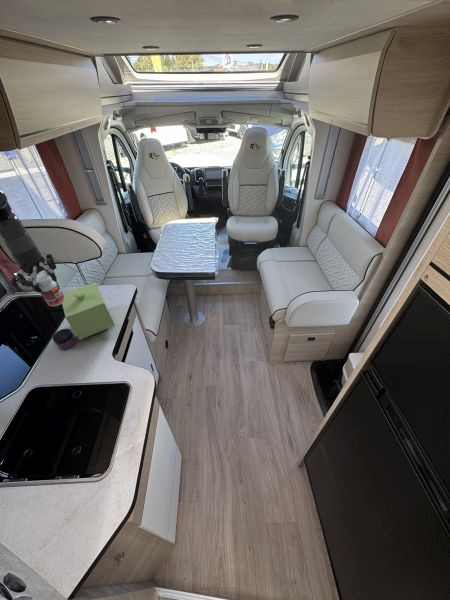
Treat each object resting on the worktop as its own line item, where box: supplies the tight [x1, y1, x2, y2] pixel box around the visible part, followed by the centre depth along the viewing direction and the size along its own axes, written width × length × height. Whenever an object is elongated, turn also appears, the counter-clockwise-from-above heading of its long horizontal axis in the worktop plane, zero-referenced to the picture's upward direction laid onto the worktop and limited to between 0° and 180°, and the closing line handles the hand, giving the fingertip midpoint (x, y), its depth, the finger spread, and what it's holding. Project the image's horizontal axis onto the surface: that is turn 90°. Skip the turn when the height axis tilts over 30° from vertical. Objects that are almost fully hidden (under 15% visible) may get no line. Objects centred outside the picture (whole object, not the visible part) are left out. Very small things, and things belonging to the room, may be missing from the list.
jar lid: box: [52, 328, 73, 344], centre depth 115 cm, size 8×8×1 cm
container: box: [61, 282, 116, 341], centre depth 121 cm, size 19×16×20 cm
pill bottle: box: [36, 274, 65, 307], centre depth 96 cm, size 6×6×11 cm
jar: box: [53, 332, 78, 351], centre depth 117 cm, size 8×8×6 cm
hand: (47, 286), depth 94 cm, fingers closed on pill bottle, 6 cm apart
